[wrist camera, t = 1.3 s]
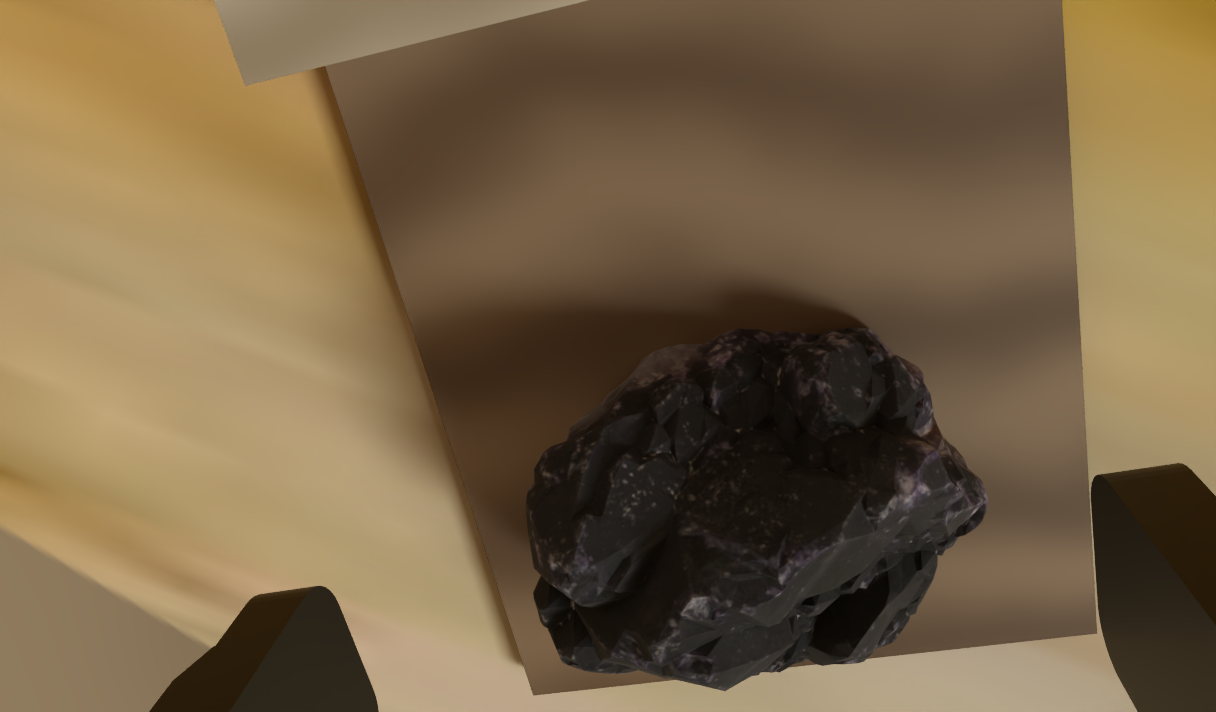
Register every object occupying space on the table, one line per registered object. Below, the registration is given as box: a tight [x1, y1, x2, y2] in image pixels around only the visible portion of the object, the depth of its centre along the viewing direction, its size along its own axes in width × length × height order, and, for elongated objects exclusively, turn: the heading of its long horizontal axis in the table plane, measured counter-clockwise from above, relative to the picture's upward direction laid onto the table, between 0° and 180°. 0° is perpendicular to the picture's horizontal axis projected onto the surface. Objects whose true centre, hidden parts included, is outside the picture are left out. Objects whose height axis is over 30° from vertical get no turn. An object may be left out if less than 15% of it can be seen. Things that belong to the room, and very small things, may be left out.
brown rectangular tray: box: [214, 0, 1097, 695], centre depth 28 cm, size 26×20×6 cm
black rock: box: [526, 327, 988, 691], centre depth 28 cm, size 13×14×10 cm
